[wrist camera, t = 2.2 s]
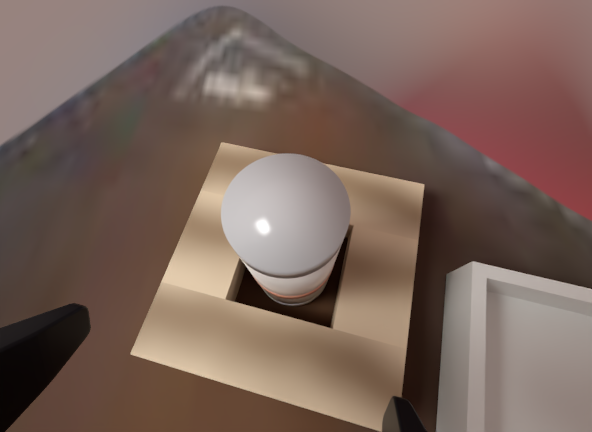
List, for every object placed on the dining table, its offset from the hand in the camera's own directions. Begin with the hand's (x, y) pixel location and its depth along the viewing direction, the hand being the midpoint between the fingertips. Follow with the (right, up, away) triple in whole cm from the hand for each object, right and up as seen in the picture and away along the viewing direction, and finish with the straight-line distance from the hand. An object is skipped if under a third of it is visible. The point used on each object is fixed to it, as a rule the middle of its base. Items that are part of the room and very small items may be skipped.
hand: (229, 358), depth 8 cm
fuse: (+2, 0, +13) cm, 13 cm away
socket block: (+2, 0, +13) cm, 13 cm away
